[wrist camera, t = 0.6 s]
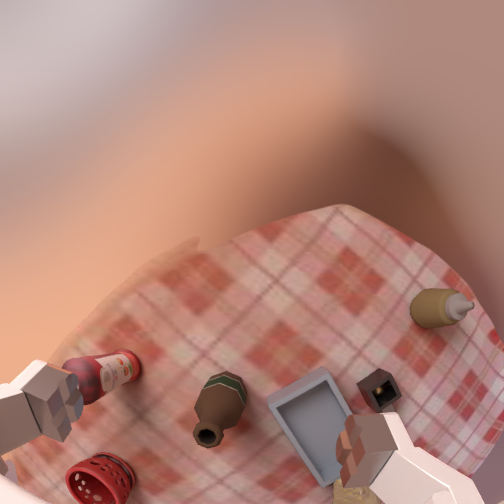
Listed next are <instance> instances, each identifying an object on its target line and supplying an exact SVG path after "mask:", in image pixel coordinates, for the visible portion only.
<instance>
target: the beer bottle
mask: <svg viewBox="0 0 504 504" xmlns="http://www.w3.org/2000/svg"><path fill="white" fill-rule="evenodd" d="M246 394H247V392H246V389H245V386H244V384H243V382H242V379H241V377H239V376H237V375H234V374H232V373H229V372H227V371H225V372H223V373H220V374H217V375H214V376H212V377H211V378H210V379H209V380H208V382H207V383H206V385H205V386H204V387H203V389H202V391H201V393H200V395H199V398H198V400H197V402H196V404H195V407H194V409H195V411H196V413H197V415H198V417H199V420H200V422H199V423H197V424H196V427H195V429H194V431H193V436H194V438H195V440H196V442H197V444H198V445H201V446H203V447H205V448H211V447H215V446H218V445H219V444H220V443H221V441H222V439H223V437H224V434H223V430H224V429H228V428H231V427H234V426H236V425H237V423H238V420H239V418H240V416H241V414H242V412H243V410H244V408H245V401H246Z"/></svg>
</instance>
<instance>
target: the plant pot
mask: <svg viewBox="0 0 504 504" xmlns="http://www.w3.org/2000/svg"><path fill="white" fill-rule="evenodd" d="M78 473H79V479H78V480H77V481H76V480H75V476H76V474H78ZM82 480H83V481H84V482H85V485H82V483H81V481H82ZM66 484H67V487H68V489H69V491H70V493H71V494H72V495H73V497H74V498H75V499H76V500H77V501H78V502H79V503H80V504H93V503H95V504H112V503H111V502H114V503H113V504H125V503H126V501H127V499H128V497H129V493H130V491H131V490H132V489H133V488H134V485H135V477H134V474H133V472H132V470H131V468H130V467H129V466H128V465H127V464H126V463H125V462H124V461H123V460H122V459H120V458H119V457H117V456H115V455H113V454H110V453H105V452H100V453H97V454H95V455H93V456H92V457H91V458H89V459H86V460H83V461H81V462H79V463H78V464H76V465H75V466H73V467H72V468H70V469H69V470H68V472H67V473H66ZM78 486H81V488H82V490H81V491H80V490H79V489H78ZM86 489H88V490H89V491H90V494H88V493H87V492H86ZM85 495H86V496H87V497H88V498H86V497H85ZM94 495H98V496H100V497H101V498H102V500H101V501H96V500H94V499H93V496H94Z"/></svg>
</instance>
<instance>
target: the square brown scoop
mask: <svg viewBox="0 0 504 504" xmlns="http://www.w3.org/2000/svg"><path fill="white" fill-rule="evenodd" d="M382 384H383V385H384V387H385V389H384V391H383V393H382V394H380V395H378V396H374V395H373V393H372V391H373V390H375V389H376V388H378V387H379V386H381V385H382ZM357 386H358V388H359V390H360V392H361V394H362V395H363V397H364V399H365V401H366V403H367V405H369V406H370V407H371V408H372V409H373V410H375V411H376V412H377V413H379V412H380V413H388V412H396V411H395V409H394V407H393V405H392V403H393V402H395V401H396V400H397V399H399V398H400V397H401V396H402V395H401V393H400V391H399V389H398V386H397V384H396V382H395V380H394V378H393V376H392V374H391V373H389V372H387V371H384V370H382V369H380V368H379V369H377V370H376V371H375V372H373V373H372V374H370V375H369V376H367V377H366V378H364V379H363V380H361V381H360V382H358V383H357Z"/></svg>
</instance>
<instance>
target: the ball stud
mask: <svg viewBox="0 0 504 504" xmlns="http://www.w3.org/2000/svg"><path fill="white" fill-rule="evenodd" d="M383 391H384V386H383V384H382V385H381V386H379V387H378V388H376V389H375V390H373V391H372V393H373V395H374V396H378V395H380V394H382V393H383Z"/></svg>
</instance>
